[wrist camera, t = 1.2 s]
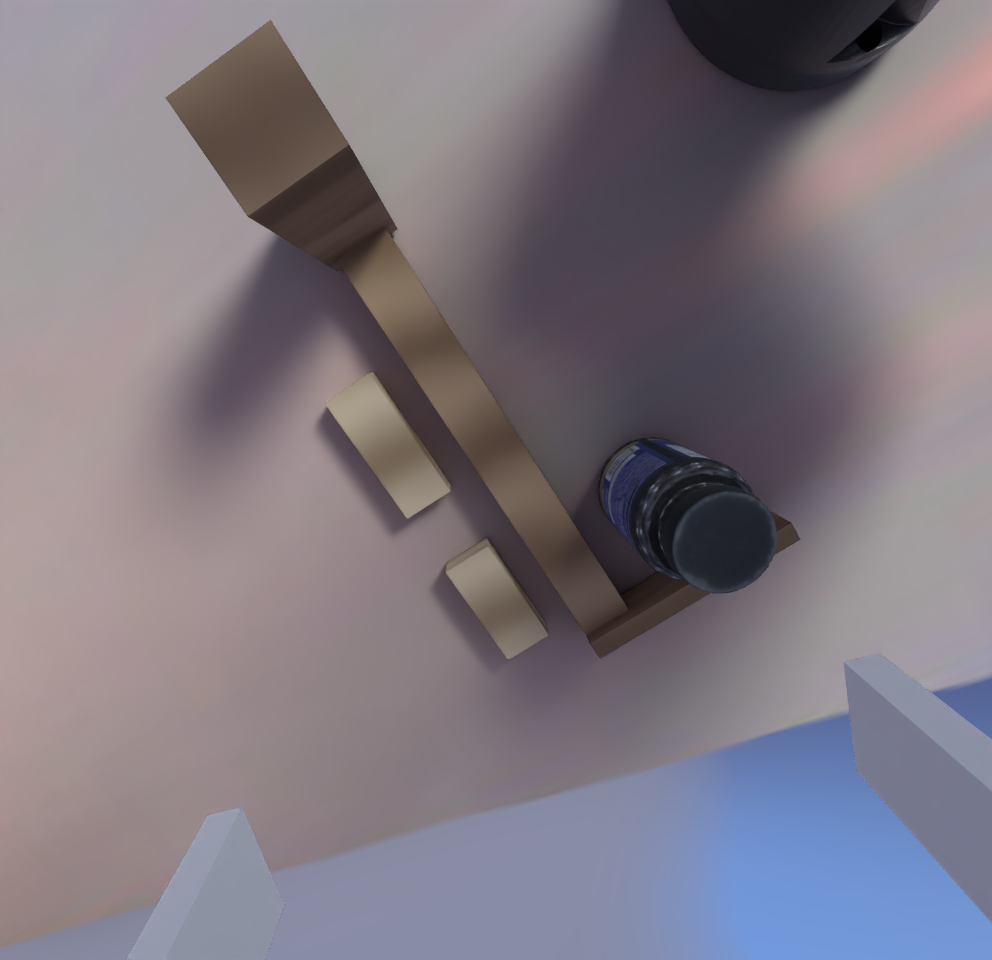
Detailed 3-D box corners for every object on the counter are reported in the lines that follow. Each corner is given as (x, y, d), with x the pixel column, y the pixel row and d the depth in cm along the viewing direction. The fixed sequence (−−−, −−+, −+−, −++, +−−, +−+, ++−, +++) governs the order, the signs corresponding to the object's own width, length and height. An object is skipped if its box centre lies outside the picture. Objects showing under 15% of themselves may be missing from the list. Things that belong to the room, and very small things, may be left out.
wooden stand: (291, 203, 30) (165, 97, 17) (514, 46, 29) (551, -188, 16) (582, 638, 37) (643, 789, 24) (773, 523, 36) (941, 619, 23)
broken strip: (331, 400, 33) (324, 402, 31) (373, 371, 33) (369, 373, 31) (506, 646, 37) (508, 660, 35) (545, 623, 37) (548, 635, 35)
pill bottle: (609, 544, 36) (671, 627, 25) (584, 453, 34) (638, 500, 24) (703, 514, 36) (806, 586, 25) (682, 422, 34) (781, 455, 23)
